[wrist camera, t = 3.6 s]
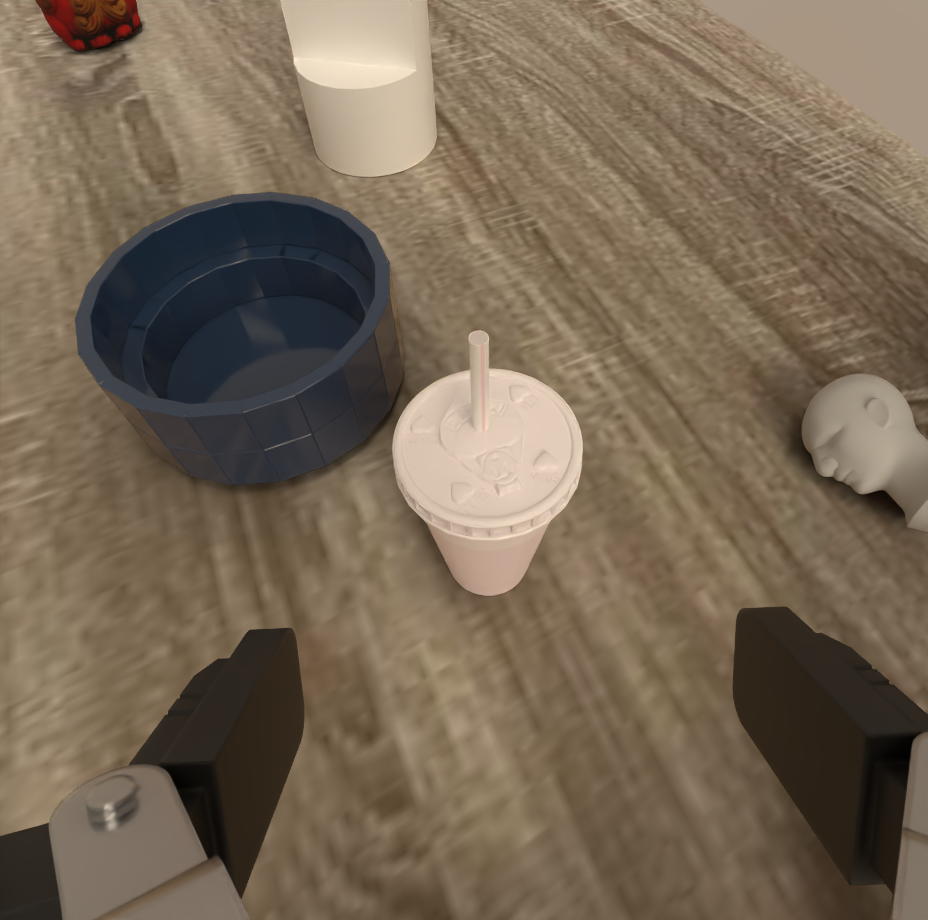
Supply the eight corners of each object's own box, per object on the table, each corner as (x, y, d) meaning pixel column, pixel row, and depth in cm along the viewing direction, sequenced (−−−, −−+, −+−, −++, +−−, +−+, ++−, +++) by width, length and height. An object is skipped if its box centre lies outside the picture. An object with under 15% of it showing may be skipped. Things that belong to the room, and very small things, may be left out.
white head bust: (769, 434, 34) (862, 388, 33) (871, 567, 29) (979, 517, 29) (776, 392, 30) (880, 340, 29) (893, 536, 26) (1018, 479, 25)
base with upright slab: (451, 112, 48) (441, -87, 38) (416, 184, 44) (393, -19, 34) (340, 99, 50) (302, -95, 40) (295, 167, 45) (239, -32, 35)
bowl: (264, 257, 41) (228, 162, 35) (455, 343, 36) (448, 250, 31) (85, 415, 34) (8, 331, 29) (290, 542, 30) (245, 472, 24)
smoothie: (524, 478, 31) (544, 247, 19) (583, 594, 28) (650, 404, 16) (400, 522, 30) (341, 307, 18) (446, 648, 27) (411, 486, 15)
